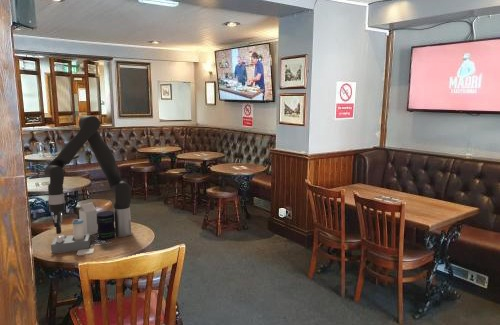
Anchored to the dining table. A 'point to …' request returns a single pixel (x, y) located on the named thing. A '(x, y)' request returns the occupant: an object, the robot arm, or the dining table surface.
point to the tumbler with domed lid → (78, 229)
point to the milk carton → (89, 218)
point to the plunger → (59, 239)
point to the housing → (70, 244)
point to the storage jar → (105, 225)
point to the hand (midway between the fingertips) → (58, 233)
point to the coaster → (85, 251)
